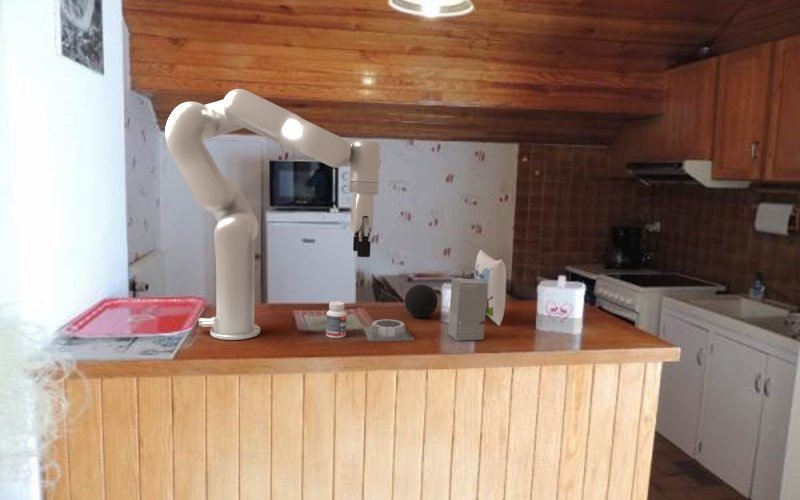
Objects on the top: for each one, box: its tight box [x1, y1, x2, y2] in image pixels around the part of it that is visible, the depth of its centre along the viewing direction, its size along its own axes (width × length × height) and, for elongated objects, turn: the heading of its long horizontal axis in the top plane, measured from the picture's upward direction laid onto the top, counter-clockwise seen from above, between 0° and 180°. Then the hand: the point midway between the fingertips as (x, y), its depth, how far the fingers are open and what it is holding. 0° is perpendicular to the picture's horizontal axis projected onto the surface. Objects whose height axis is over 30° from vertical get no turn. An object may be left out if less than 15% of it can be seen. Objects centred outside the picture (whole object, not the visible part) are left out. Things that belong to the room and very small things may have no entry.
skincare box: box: [447, 278, 488, 342], centre depth 153 cm, size 8×7×16 cm
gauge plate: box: [362, 318, 415, 342], centre depth 153 cm, size 12×11×3 cm
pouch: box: [473, 249, 507, 327], centre depth 174 cm, size 8×19×20 cm, turn 7°
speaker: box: [404, 284, 439, 318], centre depth 173 cm, size 10×10×10 cm
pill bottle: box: [325, 300, 347, 339], centre depth 150 cm, size 5×5×9 cm
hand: (361, 253), depth 150 cm, fingers open, 9 cm apart
